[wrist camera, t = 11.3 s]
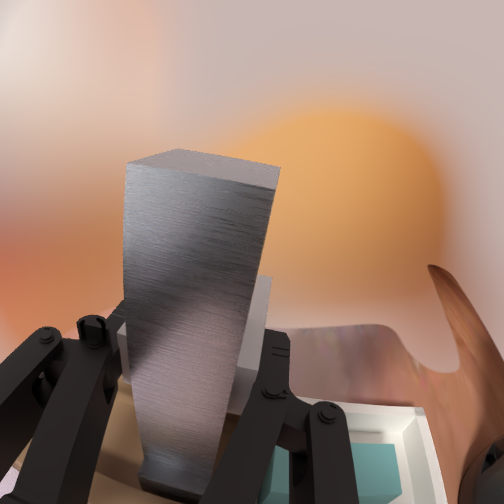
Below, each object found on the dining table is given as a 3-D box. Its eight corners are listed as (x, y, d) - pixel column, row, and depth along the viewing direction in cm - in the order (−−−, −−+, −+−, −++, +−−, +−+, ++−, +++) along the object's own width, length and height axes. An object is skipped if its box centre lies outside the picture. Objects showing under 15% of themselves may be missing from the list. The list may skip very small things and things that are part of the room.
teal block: (318, 468, 18) (339, 442, 16) (317, 515, 14) (341, 496, 12) (263, 462, 18) (276, 435, 16) (256, 510, 14) (270, 491, 12)
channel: (263, 428, 21) (275, 398, 19) (242, 557, 11) (255, 550, 9) (77, 371, 22) (68, 337, 20) (12, 466, 12) (-13, 438, 10)
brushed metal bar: (221, 435, 18) (281, 163, 11) (202, 509, 12) (271, 202, 5) (169, 422, 18) (188, 146, 11) (143, 492, 13) (100, 171, 6)
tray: (406, 427, 22) (422, 407, 21) (428, 563, 9) (455, 552, 8) (265, 414, 22) (273, 391, 21) (239, 577, 10) (247, 574, 8)
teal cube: (368, 470, 17) (394, 443, 16) (371, 514, 14) (402, 493, 12) (318, 468, 18) (339, 441, 16) (317, 515, 14) (341, 496, 12)
